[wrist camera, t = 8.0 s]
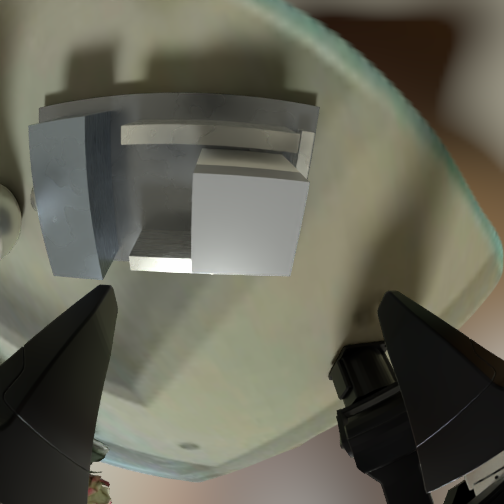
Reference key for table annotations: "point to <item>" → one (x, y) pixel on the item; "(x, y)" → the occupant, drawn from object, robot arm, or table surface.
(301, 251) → the table surface
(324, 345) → the table surface
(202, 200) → the grey rectangular block
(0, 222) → the plastic bottle
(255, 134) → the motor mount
